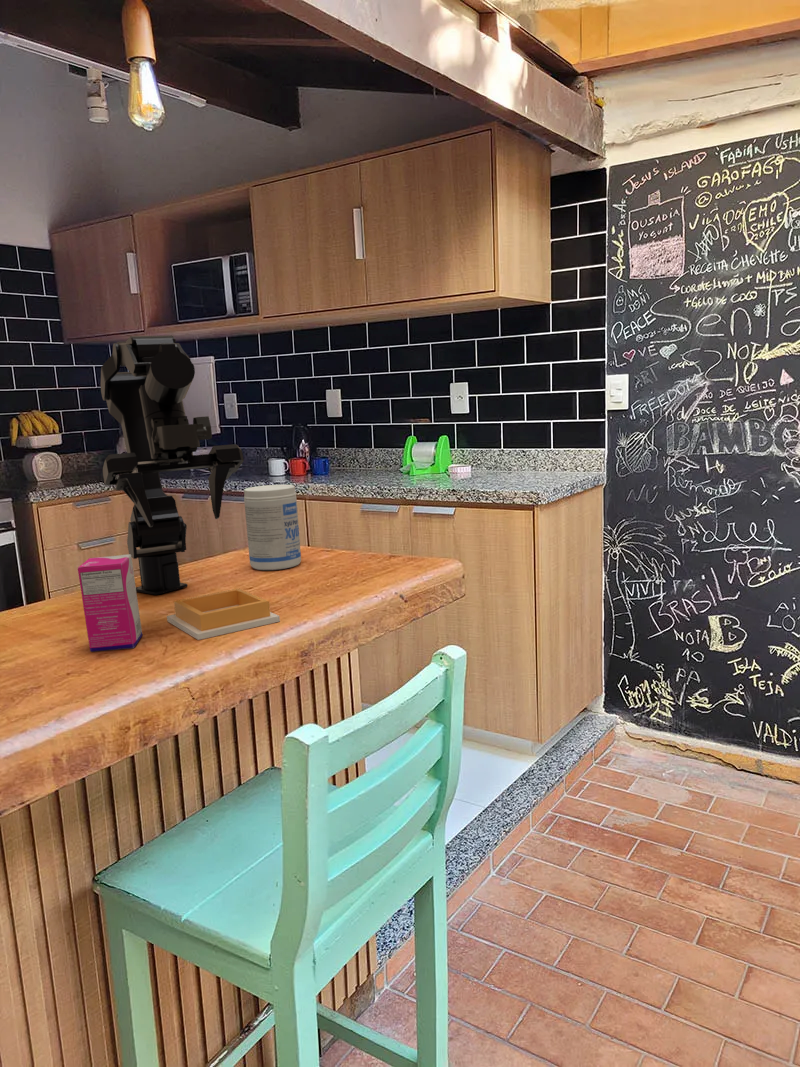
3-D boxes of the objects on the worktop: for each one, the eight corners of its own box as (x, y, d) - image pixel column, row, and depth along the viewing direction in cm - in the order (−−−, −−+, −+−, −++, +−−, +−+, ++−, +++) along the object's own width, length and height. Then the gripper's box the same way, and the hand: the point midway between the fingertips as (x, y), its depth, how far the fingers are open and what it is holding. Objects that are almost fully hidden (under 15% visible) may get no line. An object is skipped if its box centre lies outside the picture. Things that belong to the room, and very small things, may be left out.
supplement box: (98, 639, 110) (88, 556, 108) (143, 635, 111) (134, 553, 109) (87, 652, 105) (76, 565, 103) (134, 648, 105) (124, 562, 103)
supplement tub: (300, 569, 147) (294, 488, 144) (247, 573, 146) (240, 492, 143) (302, 558, 156) (296, 482, 153) (252, 562, 155) (246, 485, 153)
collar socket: (167, 621, 117) (165, 601, 117) (244, 605, 124) (242, 586, 123) (198, 640, 107) (195, 618, 107) (279, 621, 114) (278, 600, 114)
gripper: (101, 399, 105) (122, 514, 102) (241, 391, 113) (264, 498, 111) (94, 430, 115) (113, 536, 112) (224, 421, 123) (244, 520, 120)
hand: (185, 522), depth 114 cm, fingers open, 9 cm apart
